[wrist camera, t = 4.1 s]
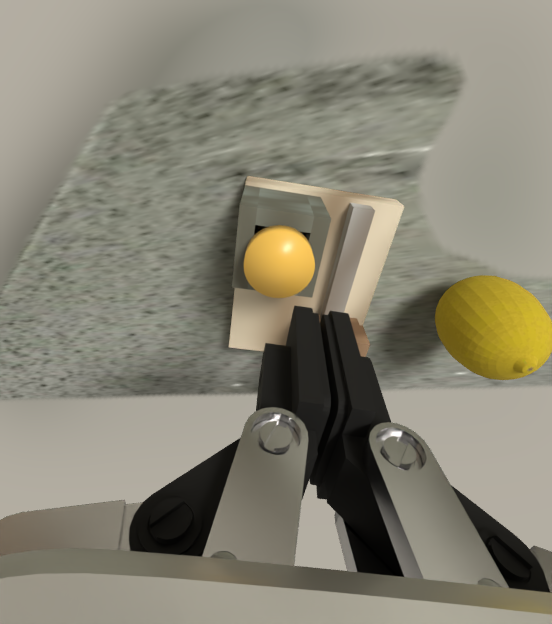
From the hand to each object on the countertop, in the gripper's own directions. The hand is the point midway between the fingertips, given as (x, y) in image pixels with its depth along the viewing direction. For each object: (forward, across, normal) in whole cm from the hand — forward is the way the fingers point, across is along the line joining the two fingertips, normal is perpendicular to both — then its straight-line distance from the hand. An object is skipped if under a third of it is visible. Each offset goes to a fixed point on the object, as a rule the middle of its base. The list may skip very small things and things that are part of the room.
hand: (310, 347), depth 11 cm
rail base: (+12, -1, +3) cm, 13 cm away
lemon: (+13, -12, +3) cm, 18 cm away
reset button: (+10, +1, 0) cm, 10 cm away
